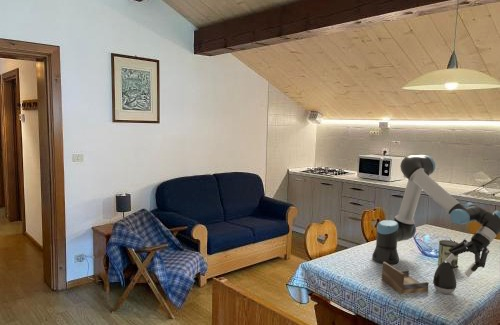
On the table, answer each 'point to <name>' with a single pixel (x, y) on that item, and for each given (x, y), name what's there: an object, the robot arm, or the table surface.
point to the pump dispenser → (445, 278)
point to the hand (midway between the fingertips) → (455, 269)
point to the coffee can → (446, 252)
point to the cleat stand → (402, 280)
